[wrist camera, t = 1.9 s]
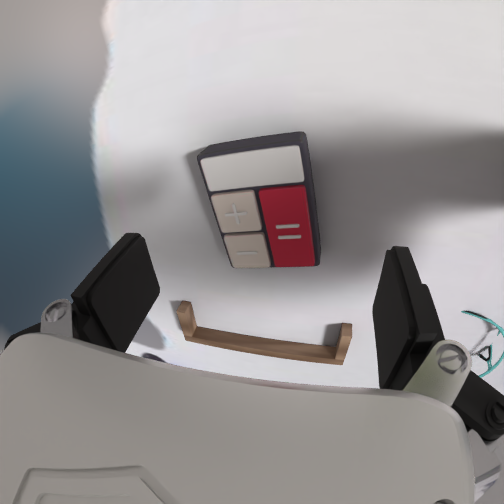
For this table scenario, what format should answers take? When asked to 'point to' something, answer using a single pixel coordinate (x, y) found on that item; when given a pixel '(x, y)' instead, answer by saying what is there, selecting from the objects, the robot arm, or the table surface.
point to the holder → (263, 341)
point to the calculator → (264, 200)
